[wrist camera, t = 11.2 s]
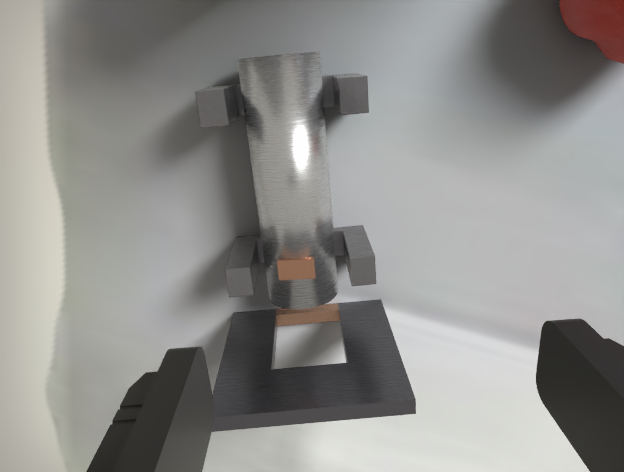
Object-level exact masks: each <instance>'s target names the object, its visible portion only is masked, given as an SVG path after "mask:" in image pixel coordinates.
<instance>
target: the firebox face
mask: <svg viewBox="0 0 624 472" xmlns="http://www.w3.org/2000/svg"><path fill="white" fill-rule="evenodd" d="M329 321H340V325H341V332H342V338H343V344H344V351H345V357H346V363H340V364H329V365H318V366H306V367H295V368H284V369H274V363H275V351H276V338H277V326H284V325H295V324H307V323H318V322H329ZM212 396H213V403H214V420H213V427H212V431H211V432H213V431H225V430H236V429H247V428H259V427H270V426H281V425H292V424H304V423H315V422H326V421H338V420H349V419H360V418H371V417H383V416H394V415H405V414H416V401H415V397H414V394H413V391H412V388H411V385H410V382H409V379H408V377H407V374H406V371H405V368H404V365H403V362H402V359H401V356H400V353H399V351H398V348H397V345H396V342H395V339H394V336H393V333H392V330H391V327H390V324H389V322H388V319H387V316H386V313H385V310H384V307H383V304H382V301H381V300H371V301H360V302H348V303H337V304H326V305H320V306H317V307H313V308H308V309H287V308H282V309H270V310H259V311H248V312H237V313H234V314H233V317H232V321H231V325H230V329H229V333H228V337H227V341H226V345H225V348H224V352H223V356H222V360H221V364H220V368H219V372H218V376H217V379H216V383H215V387H214V391H213V395H212Z"/></svg>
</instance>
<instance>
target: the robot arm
mask: <svg viewBox="0 0 624 472" xmlns="http://www.w3.org/2000/svg"><path fill="white" fill-rule="evenodd" d="M536 384H537V389H538V393H539V396H540V398H541V400H542V402H543V404H544V405H545V407H546V408H547V410H548V411H549V413H550V414H551V416H552V417H553V418H554V420H555V421H556V423H557V424H558V426H559V427H560V429H561V430H562V432H563V433H564V434H565V436H566V437H567V439H568V440H569V442H570V443H571V445H572V446H573V447H574V449H575V450H576V452H577V453H578V455H579V456H580V458H581V459H582V461H583V462H584V463H585V465H586V466H587V468H588V469H589V471H590V472H624V346H622V345H620V344H618V343H617V342H615V341H613V340H611V339H609V338H608V339H603V338H602V337H601V336H600V335H599V334H598V333H597V332H596V331H595V330H594V329H593V328H592V327H591V326H590V325H589V324H588V323H586V322H585V321H584V320H582V319H567V320H554V321H546V322H545V323H544V324H543V327H542V331H541V339H540V347H539V355H538V363H537V372H536ZM213 420H214V403H213V396H212V391H211V386H210V381H209V375H208V370H207V365H206V360H205V355H204V351H203V349H202V347H190V348H177V349H169V350H168V351H167V352H166V354H165V357H164V359H163V361H162V363H161V366H160V368H159V370H158V372H148V373H145V374H144V375H143V376H142V377H141V378H140V379H139V380H138V381H137V382H135V383H134V384H133V385H132V386H131V387H130V388H129V390H128V392H127V394H126V396H125V398H124V399H123V401H122V403H121V405H120V410H118V411H117V413H116V415H115V417H114V419H113V424H112V425H110V427H109V429H108V431H107V433H106V435H105V437H104V438H103V440H102V442H101V444H100V446H99V448H98V450H97V452H96V454H95V456H94V458H93V460H92V462H91V464H90V466H89V468H88V470H87V472H202V469H203V465H204V461H205V457H206V452H207V448H208V444H209V440H210V436H211V431H212V427H213Z"/></svg>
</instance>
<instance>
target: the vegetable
mask: <svg viewBox="0 0 624 472" xmlns="http://www.w3.org/2000/svg"><path fill="white" fill-rule="evenodd" d="M560 12H561V15H562V19H563V21H564V23H565V24H566V26H567V27H568V29H569V30H570V32H572V33H574V34H575V35H577V36H578V37H582V38H586V39H589V40H593V41H594V42H595V43H596V44H597V46H598V47H599V49H600V50H601V52H602V53H603V54H604V55H605V57H606V58H608V59H611V60H614V61H617V62H620V63H623V64H624V0H560Z"/></svg>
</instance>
